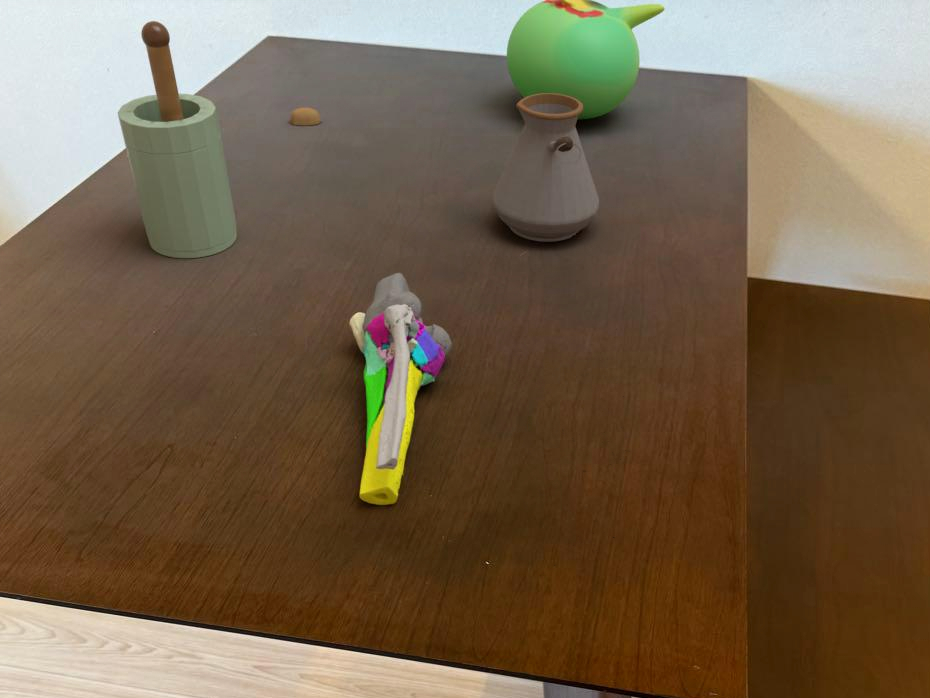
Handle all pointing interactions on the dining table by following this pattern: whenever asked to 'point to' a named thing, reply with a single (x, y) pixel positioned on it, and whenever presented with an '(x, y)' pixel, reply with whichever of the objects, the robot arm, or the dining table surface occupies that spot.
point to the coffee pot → (547, 173)
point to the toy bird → (578, 52)
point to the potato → (305, 116)
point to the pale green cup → (180, 176)
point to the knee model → (393, 380)
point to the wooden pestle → (162, 70)
